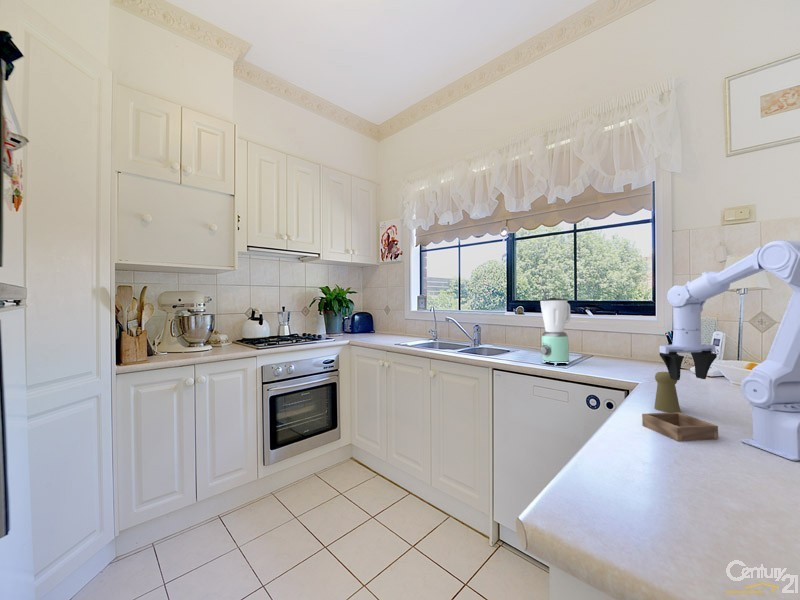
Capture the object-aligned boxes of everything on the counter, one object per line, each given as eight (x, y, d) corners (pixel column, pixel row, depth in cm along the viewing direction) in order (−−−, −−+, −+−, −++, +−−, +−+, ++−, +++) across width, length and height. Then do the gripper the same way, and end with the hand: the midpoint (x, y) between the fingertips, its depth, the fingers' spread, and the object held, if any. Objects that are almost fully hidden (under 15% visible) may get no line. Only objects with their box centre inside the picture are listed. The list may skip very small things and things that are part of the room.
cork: (685, 413, 94) (684, 374, 94) (661, 412, 95) (660, 374, 95) (672, 406, 99) (671, 370, 100) (650, 406, 101) (648, 370, 101)
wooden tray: (718, 439, 76) (717, 426, 76) (677, 441, 75) (677, 427, 75) (678, 423, 86) (678, 412, 86) (642, 425, 85) (642, 413, 85)
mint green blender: (553, 367, 165) (551, 297, 166) (533, 363, 177) (531, 298, 178) (580, 364, 172) (578, 297, 173) (559, 360, 184) (557, 298, 185)
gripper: (697, 327, 95) (698, 374, 95) (650, 328, 94) (651, 376, 94) (723, 329, 88) (724, 380, 88) (672, 331, 87) (673, 382, 87)
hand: (688, 378), depth 90 cm, fingers open, 7 cm apart
